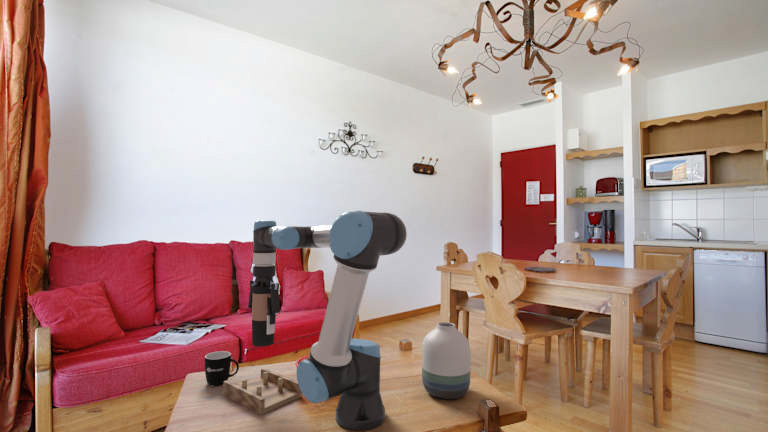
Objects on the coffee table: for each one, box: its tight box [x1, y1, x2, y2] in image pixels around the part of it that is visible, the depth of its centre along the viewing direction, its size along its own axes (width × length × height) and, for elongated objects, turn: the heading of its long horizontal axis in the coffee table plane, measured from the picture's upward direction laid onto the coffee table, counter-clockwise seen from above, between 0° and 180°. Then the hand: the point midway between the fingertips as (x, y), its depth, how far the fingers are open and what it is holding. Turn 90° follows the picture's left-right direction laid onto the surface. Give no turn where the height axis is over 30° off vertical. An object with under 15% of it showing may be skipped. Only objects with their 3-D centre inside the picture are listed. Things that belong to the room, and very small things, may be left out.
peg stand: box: [222, 367, 303, 416], centre depth 129 cm, size 22×16×6 cm
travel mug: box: [251, 285, 275, 348], centre depth 130 cm, size 8×8×20 cm
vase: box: [421, 321, 471, 400], centre depth 134 cm, size 17×17×24 cm
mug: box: [204, 350, 240, 387], centre depth 140 cm, size 12×9×10 cm
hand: (263, 331), depth 130 cm, fingers closed on travel mug, 8 cm apart
